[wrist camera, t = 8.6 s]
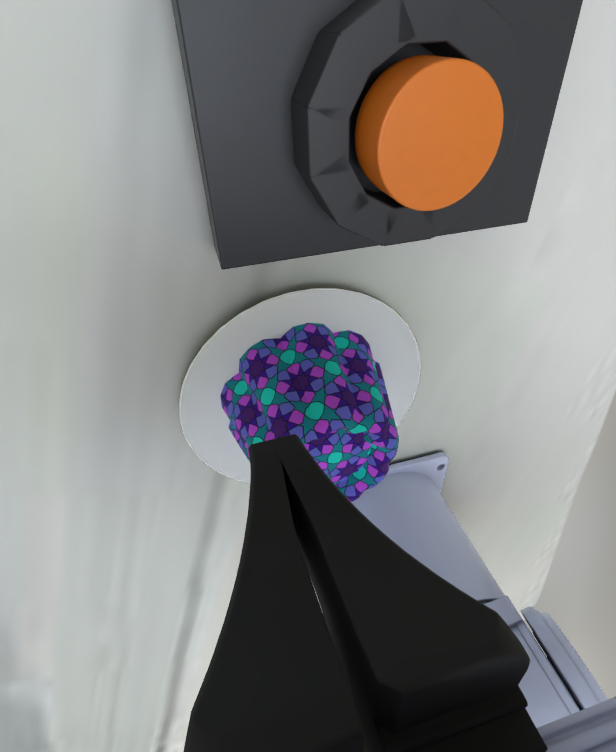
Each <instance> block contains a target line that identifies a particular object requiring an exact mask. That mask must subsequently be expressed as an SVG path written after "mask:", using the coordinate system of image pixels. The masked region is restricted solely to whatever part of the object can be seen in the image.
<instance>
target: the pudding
mask: <svg viewBox="0 0 616 752" xmlns="http://www.w3.org/2000/svg"><path fill="white" fill-rule="evenodd" d="M420 371H421V365H420V352H419V349H418V345H417V342H416V339H415V336H414V335H413V333H412V331H411V329H410V328H409V326H408V324H407V323H406V322H405V321H404V320H403V319H402V317H401V316H400V315H399V314H398V313H397V312H396V311H395V310H393V309H392V308H390V307H389V306H387V305H386V304H384V303H383V302H381V301H380V300H378V299H375V298H373V297H370V296H368V295H365V294H362V293H360V292H355V291H349V290H344V289H338V288H313V289H307V290H301V291H295V292H289V293H286V294H283V295H280V296H277V297H274V298H271V299H268V300H265V301H263V302H261V303H259V304H257V305H255V306H253V307H251V308H249V309H247V310H245V311H243V312H241V313H240V314H238V315H237V316H236V317H234V318H233V319H232V320H230V321H229V322H227V323H226V324H225V325H223V326H222V327H221V328H220V329H219V330H218V331H217V332H216V333H215V334H214V335H213V336H212V337H211V338H210V339H209V340H208V341H207V342H206V343H205V344H204V345H203V347H202V348H201V350H200V351H199V352H198V354H197V355H196V357H195V358H194V360H193V361H192V363H191V365H190V367H189V369H188V372H187V374H186V376H185V379H184V381H183V384H182V389H181V394H180V399H179V417H180V423H181V426H182V430H183V433H184V436H185V438H186V440H187V442H188V444H189V445H190V447H191V449H192V450H193V452H194V453H195V454H196V455H197V456H198V457H199V458H200V459H201V460H202V461H203V462H204V463H205V464H206V465H208V466H209V467H211V468H212V469H213V470H215V471H216V472H218V473H220V474H222V475H225V476H227V477H229V478H231V479H234V480H237V481H241V482H245V483H248V484H250V479H251V468H250V456H249V451H248V448H249V446H250V445H251V444H255V443H259V442H263V441H267V440H271V439H276V438H280V437H284V436H288V435H292V434H296V435H297V436H299V438H300V439H301V441H302V443H303V444H304V446H305V447H306V449H307V450H308V452H309V453H310V454H311V456H312V457H313V458H314V460H315V461H316V462H317V464H318V465H319V466H320V468H321V469H322V470H323V471H324V472H325V474H326V475H327V476H328V477H329V478H330V480H331V481H332V482H333V483H334V484H335V485H336V486H337V487H338V489H339V490H340V491H341V492H342V493H343V494H344V495H345V496H346V497H347V498H348V500H349V501H350V502H353V501H355V500H356V499H358V498H359V497H360V496H361V494H362V493H363V492H364V490H367V489H370V488H373V487H375V486H376V485H377V484H379V483H380V482H381V481H382V480H383V479H384V477H385V476H386V474H387V473H388V471H389V462H390V461H391V460H392V459H393V458H394V457H395V455H396V452H397V449H398V443H399V436H398V432H397V427H398V425H399V424H400V423H401V421H402V420H403V419H404V417H405V416H406V414H407V412H408V410H409V408H410V406H411V404H412V402H413V400H414V397H415V394H416V391H417V388H418V385H419V378H420Z"/></svg>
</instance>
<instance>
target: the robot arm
mask: <svg viewBox="0 0 616 752" xmlns="http://www.w3.org/2000/svg"><path fill="white" fill-rule="evenodd" d="M248 451H249V456H250V468H251V479H250V497H249V509H248V518H247V524H246V531H245V537H244V543H243V549H242V554H241V559H240V564H239V568H238V572H237V577H236V581H235V585H234V588H233V592H232V596H231V600H230V603H229V607H228V610H227V614H226V617H225V620H224V624H223V627H222V630H221V633H220V636H219V639H218V642H217V645H216V648H215V651H214V654H213V657H212V659H211V662H210V665H209V668H208V670H207V673H206V675H205V678H204V681H203V683H202V686H201V688H200V691H199V693H198V696H197V698H196V701H195V703H194V706H193V709H192V711H191V716H190V721H189V726H188V731H187V736H186V741H185V747H184V752H616V697H613V698H611V699H608V698H607V696H606V695H605V693H604V692H603V690H602V689H601V687H600V686H599V684H598V683H597V681H596V680H595V678H594V677H593V675H592V674H591V672H590V671H589V669H588V668H587V667H586V665H585V663H584V662H583V660H582V659H581V658H580V656H579V655H578V653H577V652H576V650H575V649H574V648H573V646H572V645H571V643H570V642H569V640H568V639H567V638H566V636H565V635H564V634H563V632H562V631H561V629H560V628H559V627H558V625H557V624H556V623H555V621H554V620H553V619H552V618H551V617H550V615H549V614H547V613H545V612H542V611H539V610H537V611H536V610H535V609H534V608H533V607H531V606H530V607H527V608H525V609H523V610H521V612H522V614H523V616H524V618H525V619H526V621H527V623H528V624H529V626H530V628H531V629H532V631H533V634H534V636H535V638H536V639H537V641H538V643H539V644H540V646H541V647H542V649H543V651H544V652H545V654H546V655H547V657H546V656H545V654H544V653H543V651H542V649H541V648H540V646H539V645H538V643H537V641H536V640H535V639H534V637H533V635H532V634H531V632H530V631H529V629H528V628H527V626H526V625H525V623H524V621H523V620H522V618H521V617H520V615H519V613H518V612H517V610H516V609H515V607H514V606H513V604H512V602H511V601H510V599H509V598H508V596H505V595H504V594H503V592H502V590H501V589H500V587H499V586H498V584H497V582H496V581H495V579H494V578H493V576H492V574H491V573H490V571H489V570H488V568H487V566H486V565H485V563H484V562H483V560H482V559H481V557H480V555H479V554H478V552H477V551H476V549H475V547H474V546H473V544H472V543H471V541H470V539H469V538H468V536H467V535H466V533H465V532H464V530H463V528H462V527H461V525H460V524H459V522H458V520H457V519H456V517H455V516H454V514H453V512H452V511H451V509H450V508H449V506H448V505H447V503H446V501H445V500H444V498H443V497H442V495H441V493H442V488H443V483H444V479H445V474H446V469H447V465H448V460H449V458H448V456H447V455H446V453H444V452H440V453H436V454H432V455H428V456H424V457H420V458H416V459H412V460H408V461H404V462H400V463H396V464H392V465H389V471H388V473H387V474H386V476H385V477H384V479H383V480H382V481H381V482H380V483H379V484H377V485H376V486H375V487H373V488H370V489H367V490H364V492H363V493H362V494H361V496H360V497H359V498H358V499H356V500H355V501H353V502H350V501H349V500H348V498H347V497H346V496H345V495H344V494H343V493H342V492H341V491H340V490H339V489H338V487H337V486H336V485H335V484H334V483H333V482H332V481H331V480H330V478H329V477H328V476H327V475H326V474H325V472H324V471H323V470H322V469H321V468H320V466H319V465H318V464H317V462H316V461H315V460H314V458H313V457H312V456H311V454H310V453H309V452H308V450H307V449H306V447H305V446H304V444H303V443H302V441H301V439H300V438H299V436H297V435H296V434H292V435H288V436H284V437H280V438H276V439H271V440H267V441H263V442H259V443H255V444H251V445H250V446H249V448H248ZM311 580H312V581H311ZM312 583H313V584H312ZM313 586H314V587H313ZM314 588H315V590H314ZM315 591H316V593H315ZM316 594H317V596H316ZM317 597H318V599H317ZM318 600H319V602H318ZM319 603H320V605H319ZM320 606H321V607H320ZM321 609H322V610H321ZM322 612H323V613H322Z"/></svg>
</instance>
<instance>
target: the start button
mask: <svg viewBox="0 0 616 752" xmlns="http://www.w3.org/2000/svg"><path fill="white" fill-rule="evenodd" d="M503 118H504V115H503V104H502V99H501V95H500V93H499V90H498V87H497V85H496V83H495V82H494V80H493V78H492V77H491V76H490V74H489V73H488V72H487V71H486V70H485V69H484V68H482V67H481V66H479V65H478V64H476V63H474V62H472V61H469V60H465V59H460V58H452V57H443V56H434V55H416V56H411V57H408V58H405V59H402V60H400V61H398V62H396V63H395V64H393V65H392V66H390V67H389V68H388V69H386V70H385V71H384V72H383V73H382V74H381V75H380V76H379V77H378V78H377V79H376V81H375V82H374V83H373V85H372V86H371V87H370V89H369V90H368V92H367V94H366V96H365V98H364V100H363V102H362V104H361V107H360V110H359V113H358V116H357V121H356V126H355V149H356V155H357V159H358V162H359V165H360V167H361V169H362V171H363V173H364V174H365V176H366V177H367V178H368V180H369V181H370V182H371V183H372V184H373V185H375V186H376V187H377V188H379V189H380V190H381V191H383V192H384V193H386V194H387V195H388V196H390V197H391V198H393V199H394V200H395V201H397V202H398V203H400V204H402V205H403V206H405V207H407V208H410V209H413V210H417V211H433V210H437V209H441V208H444V207H447V206H449V205H451V204H453V203H455V202H457V201H459V200H460V199H462V198H463V197H464V196H466V195H467V194H468V193H469V192H470V191H471V190H472V189H473V188H474V187H475V186H476V185H477V184H478V183H479V182H480V181H481V179H482V178H483V177H484V175H485V174H486V172H487V171H488V169H489V167H490V166H491V164H492V162H493V160H494V158H495V155H496V153H497V150H498V147H499V144H500V140H501V136H502V130H503Z"/></svg>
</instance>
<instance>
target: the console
mask: <svg viewBox="0 0 616 752" xmlns="http://www.w3.org/2000/svg"><path fill="white" fill-rule="evenodd" d="M582 2H583V0H172V6H173V11H174V17H175V23H176V29H177V34H178V40H179V46H180V52H181V57H182V63H183V69H184V75H185V80H186V86H187V92H188V98H189V103H190V109H191V115H192V121H193V126H194V132H195V138H196V143H197V149H198V155H199V161H200V166H201V172H202V178H203V184H204V189H205V195H206V201H207V207H208V212H209V218H210V224H211V230H212V235H213V241H214V246H215V250H216V253H217V256H218V259H219V262H220V266H221V268H222V269H229V268H236V267H242V266H248V265H255V264H261V263H268V262H274V261H280V260H287V259H293V258H300V257H306V256H313V255H319V254H325V253H332V252H338V251H345V250H351V249H357V248H364V247H370V246H377V245H381V246H387V245H394V244H400V243H406V242H413V241H419V240H425V239H431V238H433V237H435V236H441V235H447V234H454V233H460V232H466V231H473V230H479V229H486V228H492V227H498V226H505V225H511V224H518V223H524V222H527V220H528V216H529V212H530V208H531V204H532V200H533V196H534V192H535V188H536V184H537V180H538V176H539V172H540V168H541V164H542V160H543V156H544V153H545V149H546V145H547V141H548V137H549V133H550V129H551V125H552V121H553V117H554V113H555V109H556V105H557V101H558V97H559V93H560V89H561V85H562V81H563V77H564V73H565V69H566V65H567V61H568V57H569V53H570V49H571V45H572V42H573V38H574V34H575V30H576V26H577V22H578V18H579V14H580V10H581V6H582ZM416 55H434V56H443V57H452V58H460V59H465V60H469V61H472V62H474V63H476V64H478V65H479V66H481V67H482V68H484V69H485V70H486V71H487V72H488V73H489V74H490V76H491V77H492V78H493V80H494V82H495V83H496V85H497V87H498V90H499V93H500V95H501V99H502V104H503V115H504V118H503V130H502V136H501V140H500V144H499V147H498V150H497V153H496V155H495V158H494V160H493V162H492V164H491V166H490V167H489V169H488V171H487V172H486V174H485V175H484V177H483V178H482V179H481V181H480V182H479V183H478V184H477V185H476V186H475V187H474V188H473V189H472V190H471V191H470V192H469V193H468V194H467V195H466V196H464V197H463V198H462V199H460V200H459V201H457V202H455V203H453V204H451V205H449V206H447V207H444V208H441V209H437V210H433V211H417V210H413V209H410V208H407V207H405V206H403V205H402V204H400V203H398V202H397V201H395V200H394V199H393V198H391V197H390V196H388V195H387V194H386V193H384V192H383V191H381V190H380V189H379V188H377V187H376V186H375V185H373V184H372V183H371V182H370V181H369V180H368V178H367V177H366V176H365V174H364V173H363V171H362V169H361V167H360V165H359V162H358V159H357V155H356V149H355V126H356V121H357V116H358V113H359V110H360V107H361V104H362V102H363V100H364V98H365V96H366V94H367V92H368V90H369V89H370V87H371V86H372V85H373V83H374V82H375V81H376V79H377V78H378V77H379V76H380V75H381V74H382V73H383V72H384V71H385V70H386V69H388V68H389V67H390V66H392V65H393V64H395V63H396V62H398V61H400V60H402V59H405V58H408V57H411V56H416Z"/></svg>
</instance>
